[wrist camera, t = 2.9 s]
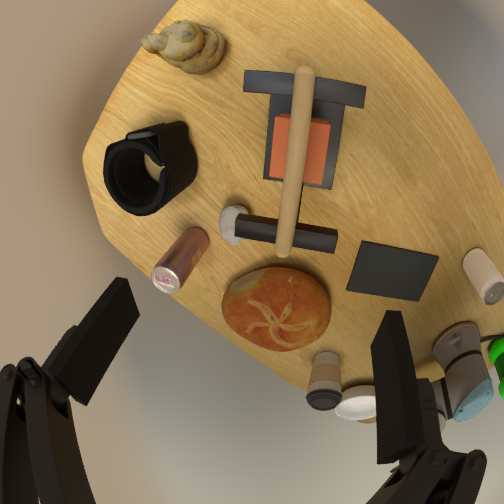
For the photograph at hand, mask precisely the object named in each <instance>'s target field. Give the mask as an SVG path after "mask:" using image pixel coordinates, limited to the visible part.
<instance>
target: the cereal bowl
mask: <svg viewBox="0 0 504 504" xmlns="http://www.w3.org/2000/svg"><path fill="white" fill-rule="evenodd" d="M341 394H342V400H341V403H340V404H339V405H337V407H335V413H336V414H337V415H338V416H339V417H341V418H343V419H348V420H363V419H368V418H371V417H374V416H376V401H375V387H374V386H370V385H361V386H355V387H352V388H349V389H347V390H346V391H344V392H343V393H341Z"/></svg>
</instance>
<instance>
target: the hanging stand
mask: <svg viewBox="0 0 504 504" xmlns="http://www.w3.org/2000/svg"><path fill="white" fill-rule="evenodd" d="M294 78H295V74H292V73H283V72H272V71H257V70H245V71H244V84H243V92H253V93H266V94H271V97H270V109H269V120H268V131H267V142H266V152H265V163H264V174H263V179H267V180H274V181H281V182H283V178H276V177H270V176H269V173H270V164H271V153H272V143H273V133H274V123H275V117H276V116H278V115H280V114H290V115H291V108H292V99H293V89H294ZM365 93H366V86H362V85H358V84H353V83H348V82H344V81H338V80H333V79H327V78H321V77H315V86H314V95H313V104H312V113H311V118H317V119H323V120H327V121H328V122H329V123H330V125H331V127H330V134H329V141H328V147H327V154H326V160H325V167H324V173H323V179H322V184H321V185H319V184H314V183H308V182H302V187H301V194H300V201H299V207H298V213H297V220H296V226H295V232H294V238H293V244H292V247H298V248H303V249H309V250H315V251H320V252H326V253H332V254H334V252H335V248H336V244H337V240H338V231H337V229H332V228H326V227H321V226H315V225H309V224H304V223H298V220H299V213H300V205H301V198H302V191H303V185H306V186H312V187H318V188H323V189H329V190H331V189H332V183H333V178H334V172H335V167H336V161H337V155H338V149H339V142H340V136H341V129H342V122H343V115H344V108H345V105H348V106H353V107H357V108H362V109H363V108H364V101H365ZM278 219H279V218H278ZM278 219H274V218H268V217H262V216H255V215H249V214H242V213H239V214H238V215H237V217H236V219H235V232H234V237H239V238H245V239H251V240H257V241H263V242H269V243H275V242H276V235H277V227H278Z"/></svg>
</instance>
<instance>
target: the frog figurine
mask: <svg viewBox="0 0 504 504" xmlns="http://www.w3.org/2000/svg"><path fill="white" fill-rule="evenodd" d="M239 213H242V214H249V213H248V211H247V210H246V209H245V208H244V207H243V206H240V205H232V206H229V207H225V208H224V209H223V210H222V211H221V213H220V216H219V217H220V219H219V227H220V229H219V230H220V232H221V235H222V237H223V239H225V240H227V241H228V242H229V243H230V244H233V245H236V244H239V243H240V242H242V241H243V240H244V239H245V238H239V237H234V232H235V219H236V217H237V215H238V214H239Z"/></svg>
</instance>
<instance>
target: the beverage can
mask: <svg viewBox="0 0 504 504" xmlns="http://www.w3.org/2000/svg"><path fill="white" fill-rule="evenodd" d="M208 245H209V241H208V237H207V235H206V234H205V232H204V231H203V230H201V229H199V228H195V227H191V228H188V229H186V230H185V231H184V232H183V233H182V234H181V236H180V237H179V238H178V239H177V240H176V241H175V243H174V244H173V245H172V246H171V247H170V248H169V250H168V251H167V252H166V253H165V254H164V255H163V257H162V258H161V259H160V260H159V261H158V263H157V264H156V265H155V266H154V269H153V271H152V273H151V278H152V281H153V283H154V284H155V286H156V287H157V288H158V289H160V290H161V291H163V292H166V293H175V292H177V291H178V290H179V289H180V288H181V287H182V286H183V284H184V283H185V281H186V280H187V278H188V277H189V275H190V274H191V272H192V270H193V269H194V267H195V266H196V264H197V263H198V261H199V260H200V258H201V257H202V255H203V254H204V252H205V251H206V249H207V247H208Z"/></svg>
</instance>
